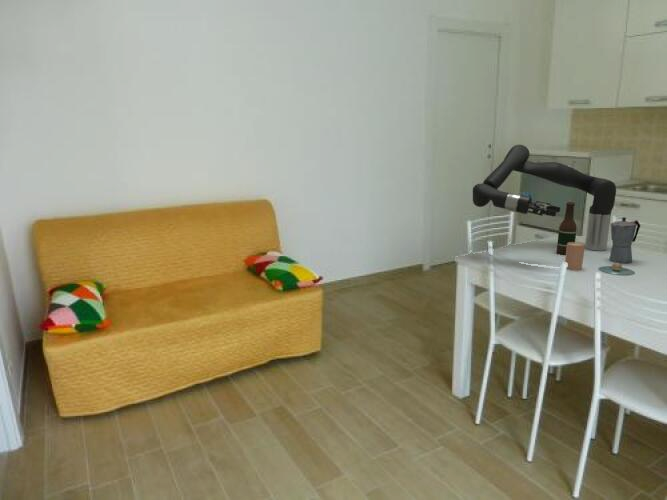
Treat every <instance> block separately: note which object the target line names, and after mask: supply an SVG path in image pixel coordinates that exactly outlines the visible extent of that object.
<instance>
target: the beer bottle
mask: <svg viewBox="0 0 667 500" xmlns="http://www.w3.org/2000/svg"><path fill="white" fill-rule="evenodd" d="M575 205H576V204H575V202H572V201H569V202H566V204H565V206H566V208H565V213H564V217H563V218H564V219H562V222H560V224H559V228H558V235H557V245H556V254H557V255H559V254H560V256H566V248H567V244H568V243H569V242H576V239H577V238H576V236H577V230H578V229H577V227H578V226H577V223H576V222H575V218H574V217H575V216H574V214H575Z"/></svg>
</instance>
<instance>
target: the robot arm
mask: <svg viewBox="0 0 667 500" xmlns="http://www.w3.org/2000/svg"><path fill="white" fill-rule="evenodd" d="M530 154H531V153H530V149H528V147H527V146H525V145H523V144H515V145H513V146H512V147H511V148H510V149H509V151H508V152H507V154H506V155H505V157H504V158H503V161H502V162H501V163H500V164H499V165H498V166H497V167H496V168H495V169H494V170H493V171H492V172H491V173H490V174H489V175H488V176H487V177H485V179H484V180H483V182H482V183H477V184H475V185H474V186H473V187H472V203H473V204H474V206H475V207H479V208H482V207H485V206H487V205H488V204H489V203H490V201H491V202H492V203H491V204H492V205H493V206H494V207H496V208H500V209H504V210H507V211H510V212H515V213H519V214H524V215H527V214H528V213H529V214H534V215H538V216H550V217H555V216H556V215H557V213H560V211H561V206H556V205H552V204H551V203H548V202H544V201H539V200H535V202H534V201H533V197H531V196H530V195H529V196H527V195H523V194H519V193H511V192H508V191H507V192H506V191H501V190H499V188H500V187H501V186H502V185H503V184H504V182H505V181H506V180H507V179H508V177H509V176H510V175H511V173H512V172H513V171H514V172H518V173H522V174H525V175H526V174H527V175H531V176H534V177H536V178H540V179H543V180H546V181H548V182H551V183H554V184H556V185H559V186H564V187H569V188H574V189H578V190H580V191H583V192H585V193H586V194H589V195H591V196H593V200H592V204H591V206H590V207H589V209H588V210H589V211H588V218H587V227H586V235H585V243H584V246H585V247H584V249H587V250H592V251H598V252H599V251H600V252H601V251H602V252H603V251H607V247H608V240H609V233H610V227H611V217H612V211H613V209H614V206H615V202H616V196H617V195H616V194H617V186H616V184H615V182H614V181H612V180H610V179H607V178H601V177H596V176H593V175H589V174H585V173H583V172H581V171H579V170H577V169H576V168H573V167H571V166H569V165H566V164H564V163H560V162H557V161H544V162H543V161H542V162H533V161H529V160H528V159H529V158H530Z"/></svg>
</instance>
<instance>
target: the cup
mask: <svg viewBox="0 0 667 500" xmlns="http://www.w3.org/2000/svg"><path fill="white" fill-rule="evenodd" d="M584 256H585V243H582V242H577V241H575V242H569V243H568V244H567V248H566V255H565V258H564V263H565V262H567V263H568V267H567V268H566V269H567V270H571V271H581V270H583V263H584Z"/></svg>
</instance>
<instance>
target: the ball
mask: <svg viewBox="0 0 667 500" xmlns="http://www.w3.org/2000/svg"><path fill="white" fill-rule="evenodd" d="M611 266H612V268H613V270H615V271H619V270H621V268H623V266H622V263H615V262H613V264H612V265H611Z"/></svg>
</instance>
